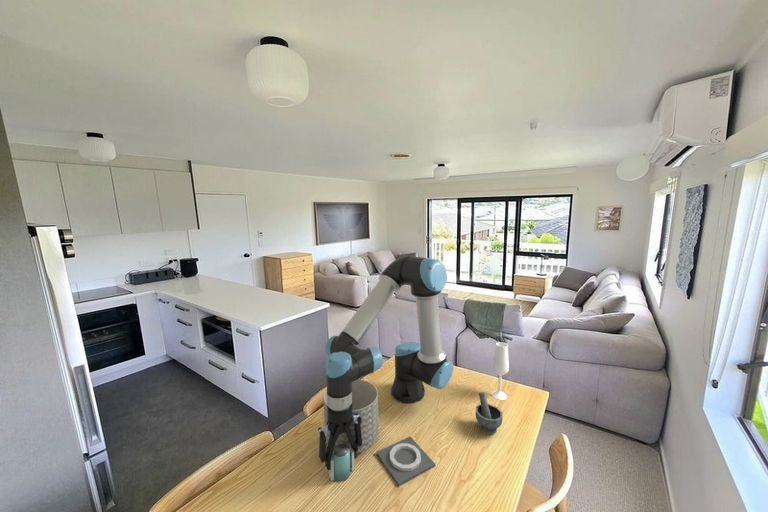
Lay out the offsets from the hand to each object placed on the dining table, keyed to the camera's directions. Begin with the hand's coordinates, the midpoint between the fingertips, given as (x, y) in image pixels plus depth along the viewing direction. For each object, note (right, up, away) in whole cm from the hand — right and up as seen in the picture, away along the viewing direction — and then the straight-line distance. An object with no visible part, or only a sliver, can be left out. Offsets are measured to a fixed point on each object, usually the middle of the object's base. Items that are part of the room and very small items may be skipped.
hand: (341, 471), depth 92 cm
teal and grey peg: (0, 0, 0) cm, 0 cm away
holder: (+20, 0, +5) cm, 21 cm away
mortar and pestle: (+53, +2, +20) cm, 56 cm away
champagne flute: (+65, +5, +40) cm, 76 cm away
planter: (+2, +1, +14) cm, 14 cm away
